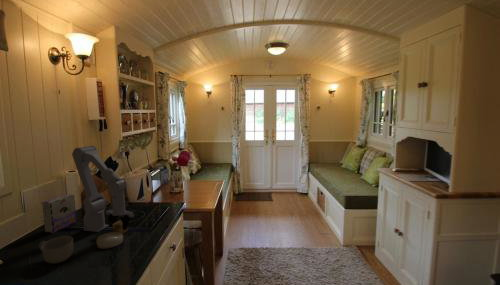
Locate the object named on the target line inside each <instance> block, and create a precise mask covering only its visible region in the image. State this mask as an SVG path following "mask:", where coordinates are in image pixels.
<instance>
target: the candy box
mask: <svg viewBox="0 0 500 285" xmlns="http://www.w3.org/2000/svg"><path fill="white" fill-rule="evenodd" d="M75 202H76V200H75V194H71V193H70V194H68V193H65V194H63V195H60V196H57V197H54V198H50V199H47V200H44V201H42V202H41V205H42V213H43V215H42V216H43V225H44V232H45V233H50V234H54V233H56V232H59V231H61V230H63V229H66V228H68V227H70V226H72V225H74V224H76V223H77V221H78V220H77V219H78V218H77V213H76V212H77V211H76V203H75ZM65 227H66V228H65Z"/></svg>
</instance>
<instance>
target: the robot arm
mask: <svg viewBox="0 0 500 285" xmlns="http://www.w3.org/2000/svg"><path fill="white" fill-rule="evenodd" d="M71 155H72V158H73V161H74V164H75V167H76V170H77V173H78V176H79V179H80V182H81V185H82V188H83V190H84V192H85V193H84V194H85V199H84V200H83V201H82V202H83V211H84V212H85V213H84V216H83V227H84V228H83V229H82V230H83V231H86V232H87V231H88V232H95V233H99V232H100V231H102V230H104V229H105V228H107V227H109V226H110V225H109V224H106V220H105V215H106V216H107V219H108V221H110V224H111V226H112V227H113V225H112V224H114V223H116V222H117V221H119V220H118V219H119V216H121V218H120V221H122V223H123V230H126V229H127V227H128V228H129V223H130V220H131V217H133V216H134V212H133V211H130V210H126V199H125V198H126V197H125V196H126V195H125V189H126V188H127V182H126V180H125V179H123V178H121V177H119V176H118V175H117V174H116V173H115V171H114V170H113V169H112V168H108V166H107V165H106V164H105V162H104V161H103V159H102V157H100V155H99V150H98V148H96V146H94V145H89V146H83V147H75V148H74V149H73V150H72V154H71ZM90 163H91V164H93V165H94V166H95V167H96V168H97V170H99V171H100V176H101V177H102V179H103V180H104V181H105V183H106V184H107V185H108V190H109V193H110V195H111V200H112V201H111V202H112V209H107V210H106V208H107V206H108V202H107V200H106V198H105V197H104V194H102V193H100V192H98V188H97V186H96V183H95V180H94V178H93V173H92V171H91V168H90V165H89V164H90ZM105 210H106V211H105Z"/></svg>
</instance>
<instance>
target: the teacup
mask: <svg viewBox="0 0 500 285" xmlns="http://www.w3.org/2000/svg"><path fill="white" fill-rule="evenodd" d="M74 246H75V245H74V238H73V237H72V236H70V235H61V236H57V237H53V238H51V239H49V240H47V241H46V240H42V241H40V242H39V244H38V248H39V249H40V251H41V252H42V257H43V260H44V262H46V263H48V264H52V265H56V264H61V263H64V262H65V261H67V260H68V259H69V258H70V257H71V256H72V255H73V253H74V251H75V250H74V249H75V248H74Z"/></svg>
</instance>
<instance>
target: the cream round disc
mask: <svg viewBox="0 0 500 285" xmlns="http://www.w3.org/2000/svg"><path fill="white" fill-rule="evenodd" d="M123 234H124V233H123ZM123 234H122V233H120V232H113V231H112V232H111V231H110V232H106V233H104V234H101V235H99V236H98V237H97V238H96V246H97V248H98V249H110V248H115V247H117V246H119V245H121V244H122V243H123V242H124V236H123Z"/></svg>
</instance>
